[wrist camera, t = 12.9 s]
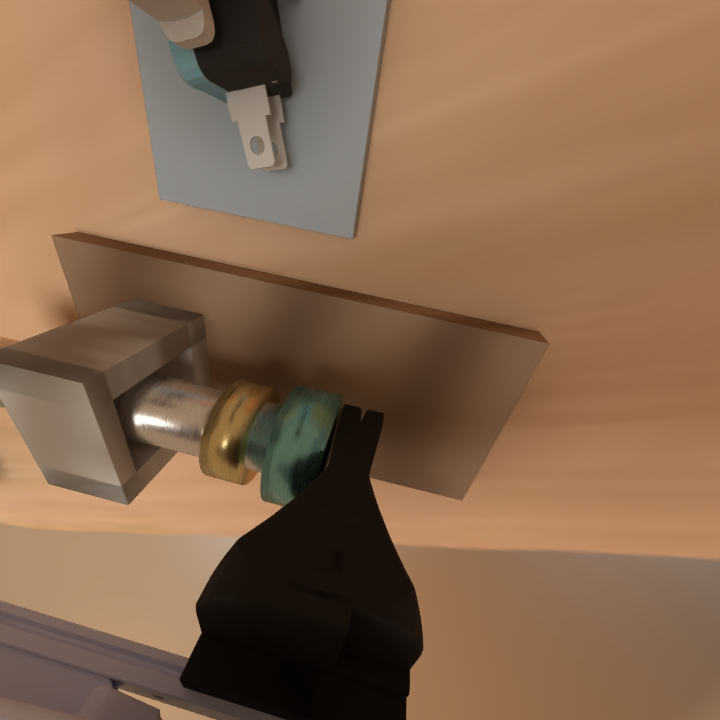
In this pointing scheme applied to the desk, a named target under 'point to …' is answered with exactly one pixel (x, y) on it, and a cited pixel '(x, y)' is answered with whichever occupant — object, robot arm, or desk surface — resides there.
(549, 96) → the desk surface
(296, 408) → the shaft
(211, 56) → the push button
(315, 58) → the pad
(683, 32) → the desk surface
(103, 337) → the bracket
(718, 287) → the desk surface
